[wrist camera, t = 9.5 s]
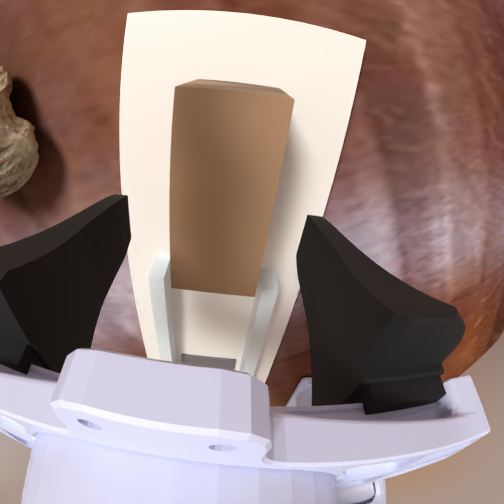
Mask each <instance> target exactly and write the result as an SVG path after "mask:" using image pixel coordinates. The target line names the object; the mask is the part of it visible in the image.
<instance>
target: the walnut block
mask: <svg viewBox="0 0 504 504" xmlns="http://www.w3.org/2000/svg"><path fill="white" fill-rule="evenodd" d="M294 101H295V99H293V98H292V97H291V96H289V95H288V94H287V93H285V92H284V91H283V90H282V89H280V88H276V87H270V86H263V85H256V84H248V83H240V82H231V81H220V80H207V79H197V80H193V81H190V82H187V83H184V84H181V85H178V86H175V91H174V103H173V116H172V132H171V153H170V188H169V233H170V269H171V288H175V289H183V290H191V291H200V292H209V293H218V294H228V295H238V296H249V297H255V294H256V289H257V284H258V280H259V275H260V270H261V265H262V261H263V256H264V251H265V246H266V241H267V237H268V232H269V227H270V222H271V217H272V212H273V207H274V202H275V198H276V193H277V188H278V183H279V178H280V173H281V168H282V163H283V158H284V153H285V147H286V142H287V137H288V132H289V127H290V122H291V117H292V112H293V106H294Z"/></svg>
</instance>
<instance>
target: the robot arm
mask: <svg viewBox="0 0 504 504" xmlns="http://www.w3.org/2000/svg"><path fill="white" fill-rule="evenodd" d="M130 241H131V228H130V217H129V204H128V195H116V194H114V195H111V196H109V197H107V198H105V199H103V200H101V201H99V202H97V203H95V204H94V205H92V206H90V207H88V208H86V209H85V210H83V211H81V212H79V213H77V214H76V215H74V216H72V217H70V218H68V219H66V220H64V221H63V222H61V223H59V224H57V225H55V226H53V227H51V228H49V229H46V230H44V231H42V232H40V233H37V234H35V235H32V236H30V237H27V238H25V239H22V240H19V241H17V242H14V243H11V244H8V245H4V246H1V247H0V432H2V433H4V434H5V435H7V436H9V437H10V438H12V439H14V440H16V441H18V442H20V443H22V444H23V445H25V446H27V447H29V448H31V449H32V452H31V456H30V460H29V464H28V469H27V474H26V479H25V484H24V490H23V496H22V502H21V504H367V503H370V502H371V503H370V504H386V496H385V495H386V488H385V480H384V479H386V478H389V477H393V476H396V475H400V474H403V473H406V472H409V471H412V470H415V469H418V468H421V467H423V466H426V465H429V464H432V463H434V462H437V461H440V460H442V459H445V458H447V457H449V456H451V455H453V454H455V453H456V452H458V451H460V450H461V449H463V448H465V447H467V446H468V445H470V444H472V443H473V442H475V441H476V440H478V439H479V438H481V437H482V436H484V435H486V434H487V433H489V431H490V427H489V424H488V421H487V418H486V415H485V412H484V410H483V407H482V404H481V401H480V399H479V396H478V394H477V391H476V389H475V386H474V384H473V381H472V379H471V376H470V375H466V376H461V377H456V378H452V379H449V380H447V381H445V382H443V383H442V380H441V377H440V375H442V374H443V373H444V369H443V366H442V364H441V363H442V362H443V361H444V360H445V359H446V358H447V357H448V355H449V354H450V353H451V352H452V351H453V350H454V349H455V348H456V346H457V345H458V344H459V342H460V341H461V339H462V337H463V335H464V332H465V324H464V322H463V320H462V318H461V316H460V314H459V313H458V311H457V309H456V308H455V307H454V306H451V305H449V304H447V303H444V302H442V301H440V300H437V299H435V298H432V297H430V296H428V295H426V294H424V293H422V292H421V291H419V290H417V289H415V288H413V287H411V286H409V285H408V284H406V283H404V282H403V281H401V280H400V279H398V278H396V277H395V276H393V275H392V274H390V273H389V272H387V271H386V270H384V269H383V268H382V267H380V266H379V265H378V264H376V263H375V262H374V261H372V260H371V259H370V258H368V257H367V256H366V255H365V254H364V253H363V252H361V251H360V250H359V249H358V248H357V247H356V246H354V245H353V244H352V243H351V242H350V241H349V240H348V239H347V238H346V237H345V236H344V235H342V234H341V233H340V232H339V231H338V230H337V229H336V228H335V227H334V226H333V225H332V224H331V223H329V222H328V221H327V220H326V219H325V218H323V217H321V216H314V215H307V218H306V221H305V225H304V229H303V232H302V236H301V239H300V243H299V246H298V250H297V253H296V264H297V276H298V281H299V285H300V290H301V294H302V299H303V303H304V308H305V312H306V317H307V322H308V328H309V338H310V350H311V370H312V377H306V378H303V379H301V381H300V382H299V384H298V386H297V388H296V389H295V391H294V393H293V394H292V396H291V398H290V399H289V401H288V403H287V404H286V407H274V406H270V396H269V390H268V385H266V384H265V383H263V382H262V381H260V380H258V379H257V378H255V377H253V376H252V375H250V374H249V373H247V372H242V371H237V370H232V369H228V368H223V367H214V366H204V365H195V364H187V363H179V362H172V361H165V360H158V359H152V358H146V357H140V356H134V355H128V354H123V353H118V352H113V351H108V350H103V349H90V348H91V343H92V339H93V335H94V331H95V327H96V324H97V320H98V317H99V314H100V310H101V307H102V305H103V302H104V300H105V297H106V295H107V293H108V291H109V289H110V287H111V284H112V282H113V280H114V278H115V276H116V274H117V272H118V270H119V268H120V266H121V264H122V262H123V260H124V258H125V255H126V252H127V250H128V247H129V244H130ZM373 486H374V488H373ZM374 490H375V495H374Z"/></svg>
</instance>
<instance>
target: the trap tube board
mask: <svg viewBox="0 0 504 504" xmlns="http://www.w3.org/2000/svg"><path fill="white" fill-rule="evenodd" d="M365 44H366V40H364V39H361V38H358V37H354V36H351V35H348V34H345V33H341V32H338V31H334V30H331V29H327V28H323V27H319V26H315V25H311V24H306V23H302V22H297V21H292V20H286V19H281V18H275V17H269V16H262V15H254V14H245V13H235V12H223V11H202V10H170V11H150V12H137V13H128V16H127V23H126V30H125V39H124V48H123V59H122V72H121V89H120V170H121V188H122V195H128V204H129V217H130V228H131V241H130V244H129V247H128V258H129V265H130V272H131V278H132V284H133V290H134V296H135V301H136V307H137V312H138V317H139V322H140V327H141V332H142V336H143V341H144V345H145V349H146V353H147V358H152V359H158V360H165V361H172V362H179V363H187V364H195V365H204V366H214V367H223V368H228V369H232V370H237V371H242V372H247V373H249V374H250V375H252V376H253V377H255V378H257V379H258V380H260V381H262V382H263V383H265V382H266V379H267V377H268V374H269V372H270V369H271V367H272V364H273V361H274V359H275V356H276V353H277V351H278V348H279V345H280V343H281V340H282V337H283V335H284V332H285V329H286V326H287V324H288V321H289V318H290V315H291V312H292V310H293V307H294V304H295V301H296V298H297V295H298V292H299V289H300V285H299V281H298V276H297V264H296V253H297V250H298V246H299V243H300V239H301V236H302V232H303V229H304V225H305V221H306V218H307V215H314V216H321V217H323V214H324V210H325V207H326V204H327V200H328V197H329V193H330V190H331V186H332V183H333V179H334V175H335V172H336V168H337V164H338V161H339V157H340V153H341V149H342V146H343V142H344V138H345V134H346V130H347V126H348V122H349V118H350V113H351V109H352V105H353V101H354V96H355V92H356V87H357V83H358V78H359V74H360V69H361V64H362V59H363V54H364V49H365ZM197 79H207V80H220V81H231V82H240V83H248V84H256V85H263V86H270V87H276V88H280V89H282V90H283V91H284V92H285V93H287V94H288V95H289V96H291V97H292V98H293V99H295V101H294V106H293V112H292V117H291V122H290V127H289V132H288V137H287V142H286V147H285V153H284V158H283V163H282V168H281V173H280V178H279V183H278V188H277V193H276V198H275V202H274V207H273V212H272V217H271V222H270V227H269V232H268V237H267V241H266V246H265V251H264V256H263V261H262V265H261V270H260V275H259V280H258V284H257V289H256V294H255V297H249V296H238V295H228V294H218V293H209V292H200V291H191V290H183V289H175V288H171V269H170V233H169V188H170V153H171V132H172V116H173V103H174V91H175V86H178V85H181V84H184V83H187V82H190V81H193V80H197Z"/></svg>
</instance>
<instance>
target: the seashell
mask: <svg viewBox="0 0 504 504" xmlns="http://www.w3.org/2000/svg"><path fill="white" fill-rule="evenodd" d="M12 89H13V84H12V77H11V74H10V73H9V72H8V71H7V70H6V69H5V68H4V67H2V66H0V201H1V200H2V198H4V197H6V196H8V195H10V194H12V193H14V192H15V191H17V190H18V189H19V188H21V187H22V186H23V185H24V184H25V183H26V182H27V181H28V180H29V179H30V177H31V175H32V174H33V172H34V170H35V168H36V166H37V163H38V157H39V155H38V153H37V150H38V143H37V141H36V140H35V134H34V130H35V127H34V126H33V125H31V123H30V122H29V121H27V120H25V119H22V118H20V117H18V116H16V115H15V112H14V111H13V109H12V104H11V102H10V98H9V96H10V94H11V91H12Z"/></svg>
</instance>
